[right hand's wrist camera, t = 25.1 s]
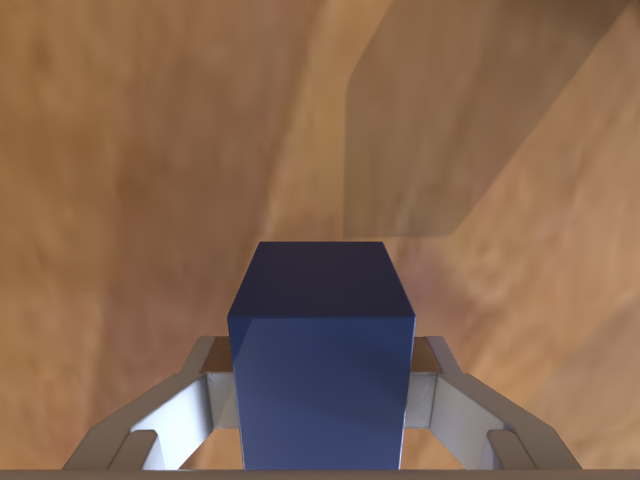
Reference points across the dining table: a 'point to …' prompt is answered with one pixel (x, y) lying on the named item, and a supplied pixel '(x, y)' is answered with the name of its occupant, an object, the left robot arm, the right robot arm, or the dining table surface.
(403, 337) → the brick
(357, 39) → the dining table surface
